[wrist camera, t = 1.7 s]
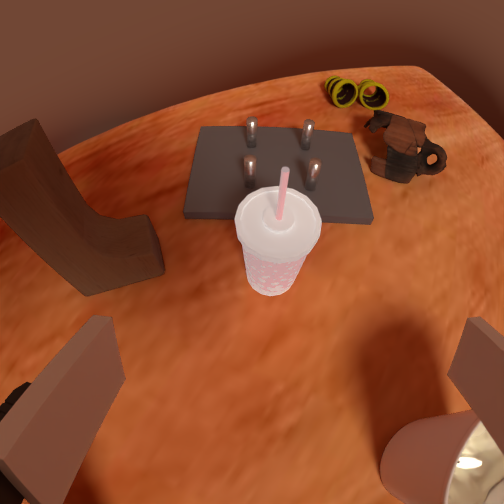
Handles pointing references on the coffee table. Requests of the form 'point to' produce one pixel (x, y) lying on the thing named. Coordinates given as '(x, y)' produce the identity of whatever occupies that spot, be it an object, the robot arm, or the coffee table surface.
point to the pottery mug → (404, 148)
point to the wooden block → (70, 219)
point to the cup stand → (277, 170)
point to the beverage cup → (276, 235)
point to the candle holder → (444, 462)
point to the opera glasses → (356, 93)
